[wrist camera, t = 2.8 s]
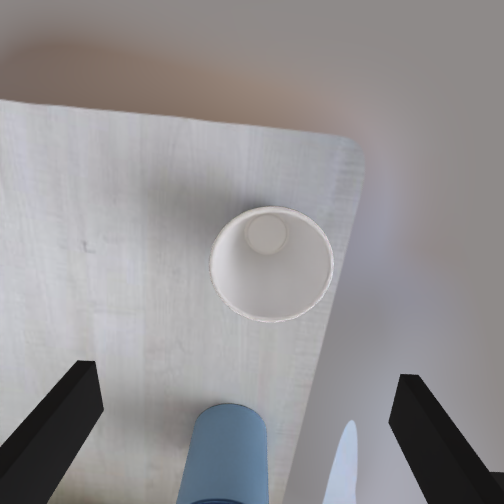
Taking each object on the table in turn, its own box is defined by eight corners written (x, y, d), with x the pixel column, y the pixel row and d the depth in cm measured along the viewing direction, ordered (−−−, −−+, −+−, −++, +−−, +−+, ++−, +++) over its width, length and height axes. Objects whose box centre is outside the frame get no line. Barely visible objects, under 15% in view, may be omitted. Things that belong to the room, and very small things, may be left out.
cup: (265, 170, 30) (269, 177, 20) (327, 231, 32) (360, 266, 22) (206, 235, 33) (183, 271, 22) (268, 288, 35) (272, 343, 24)
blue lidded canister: (267, 401, 41) (272, 520, 27) (268, 458, 44) (273, 587, 31) (188, 402, 41) (155, 519, 28) (196, 458, 45) (169, 586, 31)
